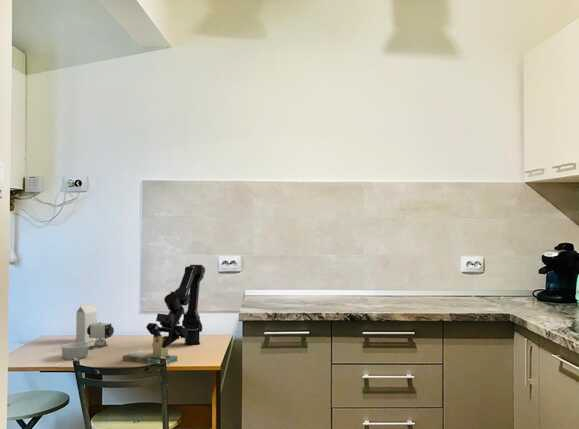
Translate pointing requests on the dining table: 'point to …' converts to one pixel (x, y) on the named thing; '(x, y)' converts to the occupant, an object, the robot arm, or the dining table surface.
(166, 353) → the brass clip
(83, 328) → the milk carton
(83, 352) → the saucepan
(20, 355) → the dining table surface
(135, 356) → the divided tray
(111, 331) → the pneumatic valve
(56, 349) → the dining table surface
